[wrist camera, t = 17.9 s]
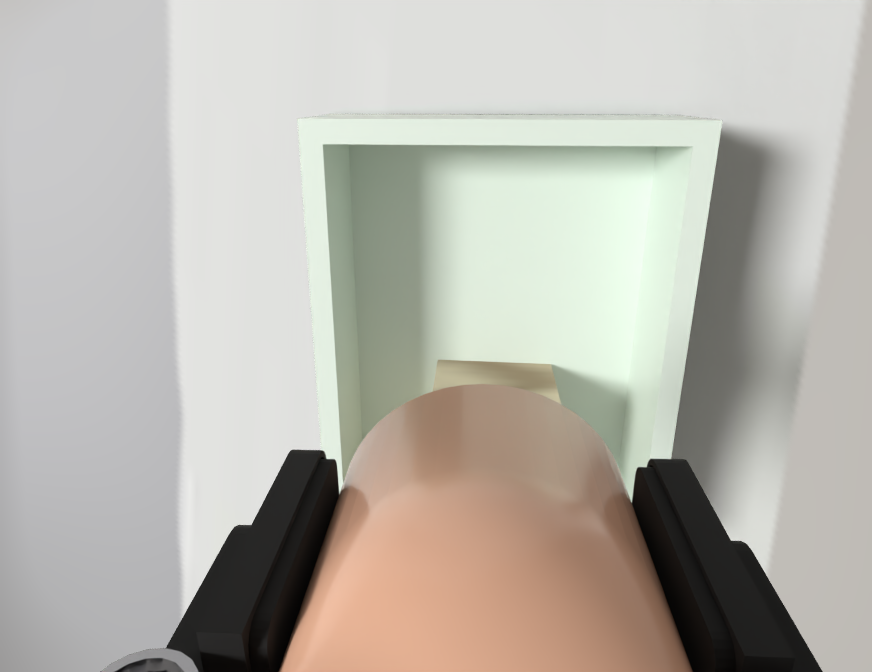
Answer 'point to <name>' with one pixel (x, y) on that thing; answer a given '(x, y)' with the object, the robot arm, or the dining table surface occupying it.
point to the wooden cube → (497, 376)
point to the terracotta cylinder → (484, 549)
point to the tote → (506, 262)
